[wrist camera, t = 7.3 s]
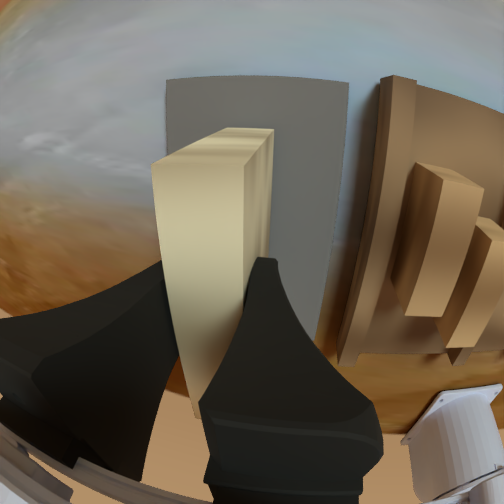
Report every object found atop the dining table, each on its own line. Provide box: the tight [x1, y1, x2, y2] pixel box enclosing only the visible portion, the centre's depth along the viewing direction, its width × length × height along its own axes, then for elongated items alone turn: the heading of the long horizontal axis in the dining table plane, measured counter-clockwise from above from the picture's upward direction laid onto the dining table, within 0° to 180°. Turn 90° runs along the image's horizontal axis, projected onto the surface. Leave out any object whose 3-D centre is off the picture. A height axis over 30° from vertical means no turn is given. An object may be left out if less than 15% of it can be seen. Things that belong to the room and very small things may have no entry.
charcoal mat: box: [166, 76, 349, 340], centre depth 15 cm, size 14×8×1 cm, turn 178°
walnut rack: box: [336, 75, 504, 367], centre depth 12 cm, size 15×17×2 cm
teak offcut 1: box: [390, 162, 484, 317], centre depth 11 cm, size 6×2×3 cm, turn 178°
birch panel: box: [151, 128, 274, 419], centre depth 11 cm, size 10×2×7 cm, turn 179°
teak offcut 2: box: [433, 216, 504, 348], centre depth 12 cm, size 6×2×3 cm, turn 178°
